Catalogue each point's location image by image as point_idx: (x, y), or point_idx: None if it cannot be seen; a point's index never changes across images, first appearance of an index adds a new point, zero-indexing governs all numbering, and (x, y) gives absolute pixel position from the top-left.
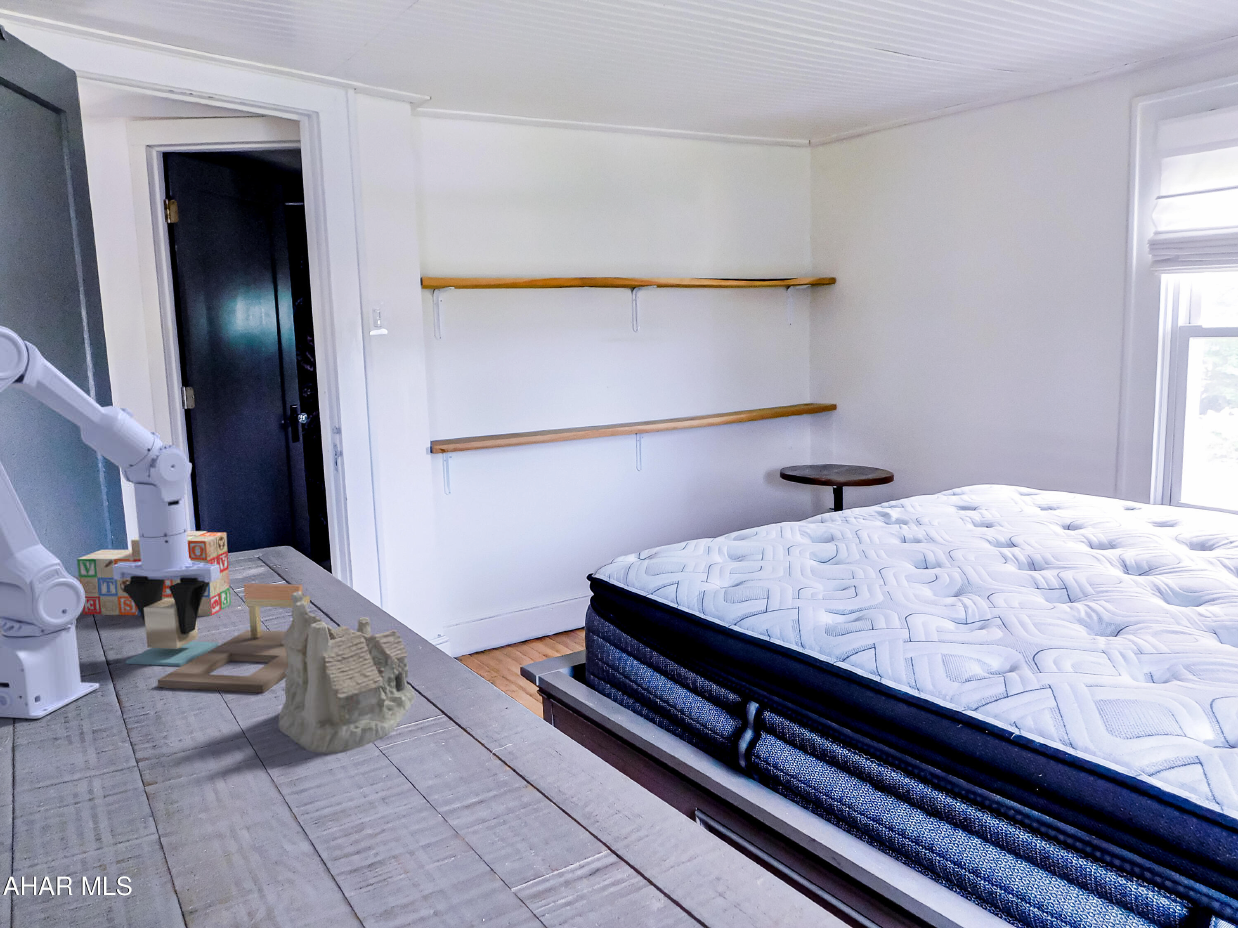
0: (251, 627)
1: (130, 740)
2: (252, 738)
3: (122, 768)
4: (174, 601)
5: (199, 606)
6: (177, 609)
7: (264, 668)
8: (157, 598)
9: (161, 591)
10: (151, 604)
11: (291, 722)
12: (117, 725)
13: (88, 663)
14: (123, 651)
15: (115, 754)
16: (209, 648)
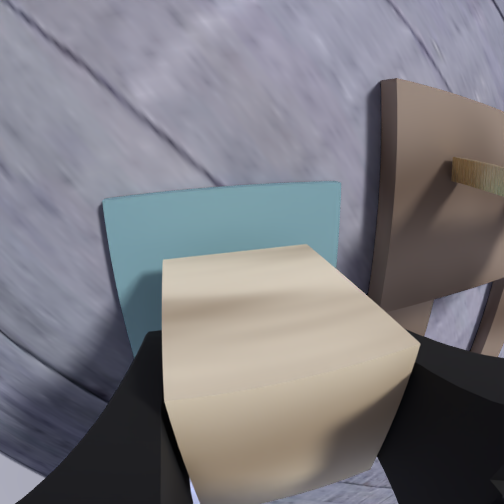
0: (478, 188)
1: (377, 487)
2: None
3: (390, 495)
4: (304, 423)
5: (431, 342)
6: (379, 453)
7: (491, 335)
8: (174, 473)
9: (165, 484)
10: (182, 481)
11: None
12: (346, 488)
13: (44, 397)
14: (32, 308)
15: (375, 496)
16: (336, 234)
